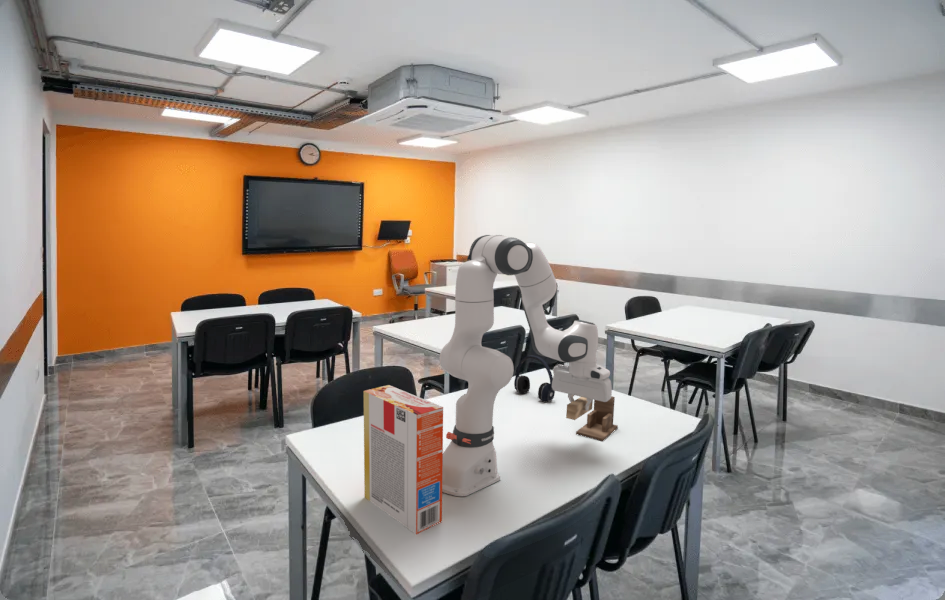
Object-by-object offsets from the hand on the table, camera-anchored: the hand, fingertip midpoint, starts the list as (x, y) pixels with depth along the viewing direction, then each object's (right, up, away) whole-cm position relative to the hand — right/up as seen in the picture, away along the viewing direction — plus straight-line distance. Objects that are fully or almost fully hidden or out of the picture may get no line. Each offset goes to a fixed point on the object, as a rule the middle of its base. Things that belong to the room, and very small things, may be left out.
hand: (579, 408), depth 175 cm
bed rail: (0, -2, 0) cm, 2 cm away
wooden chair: (+10, -12, +16) cm, 22 cm away
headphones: (-9, -6, +52) cm, 54 cm away
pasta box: (-55, -18, -39) cm, 69 cm away
